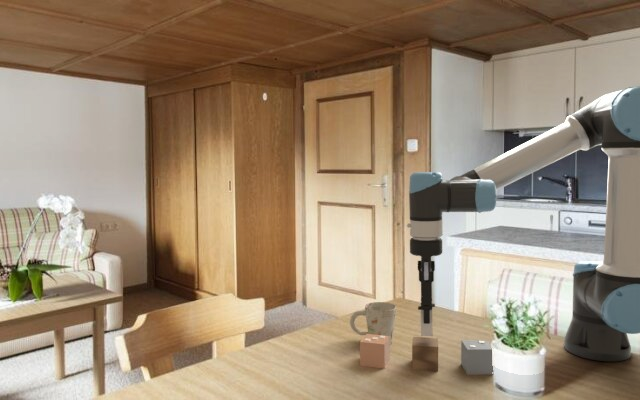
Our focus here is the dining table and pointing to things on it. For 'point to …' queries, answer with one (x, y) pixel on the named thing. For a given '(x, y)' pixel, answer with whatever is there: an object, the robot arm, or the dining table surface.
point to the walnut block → (425, 354)
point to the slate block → (476, 356)
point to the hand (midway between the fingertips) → (426, 334)
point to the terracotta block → (375, 351)
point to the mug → (377, 319)
